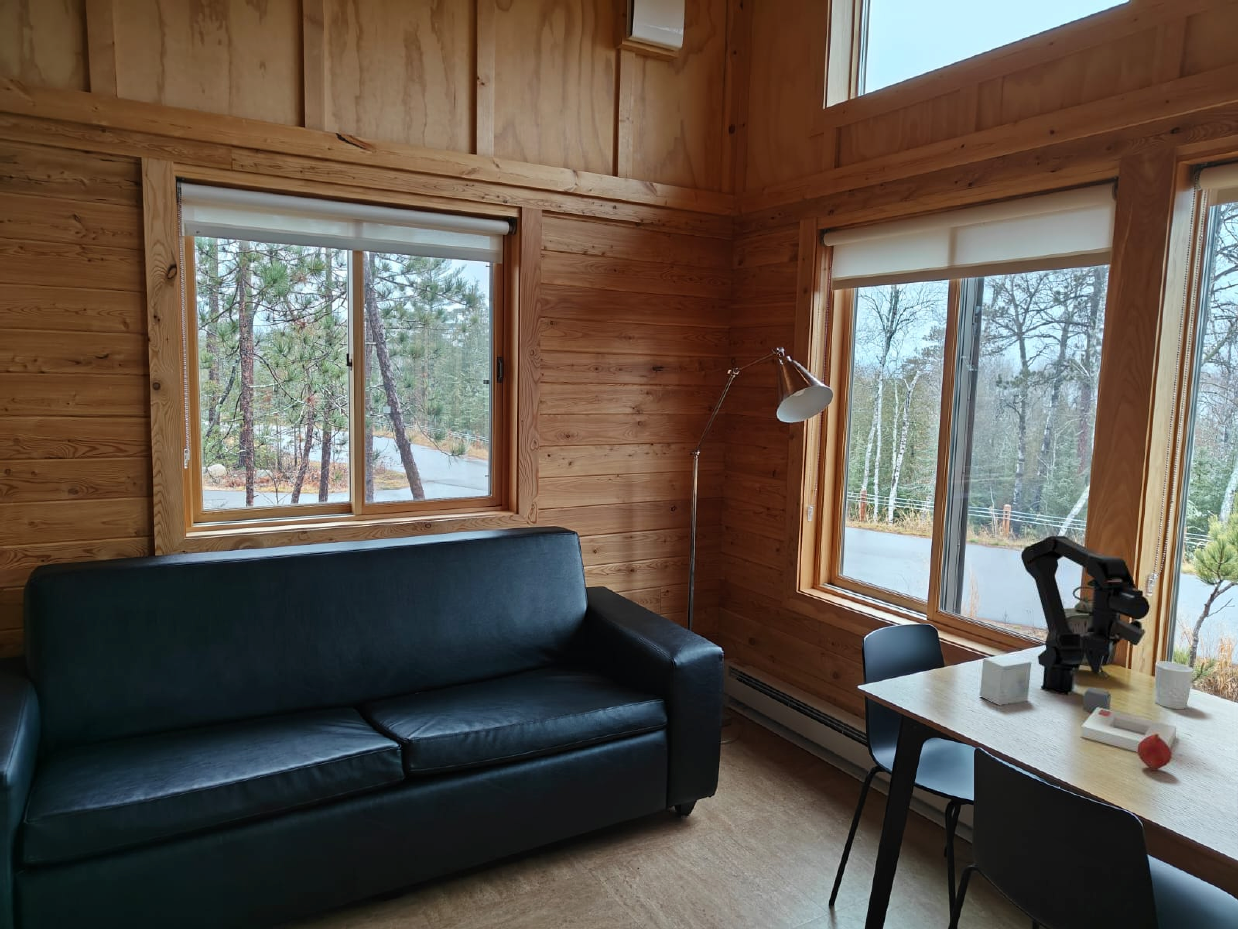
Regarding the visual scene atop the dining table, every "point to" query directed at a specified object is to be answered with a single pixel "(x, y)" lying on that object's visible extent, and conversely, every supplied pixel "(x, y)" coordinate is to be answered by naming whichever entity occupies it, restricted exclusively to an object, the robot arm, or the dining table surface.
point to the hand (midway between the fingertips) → (1099, 669)
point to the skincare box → (1005, 679)
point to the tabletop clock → (1084, 623)
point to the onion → (1154, 752)
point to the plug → (1096, 699)
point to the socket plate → (1124, 729)
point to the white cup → (1172, 684)
